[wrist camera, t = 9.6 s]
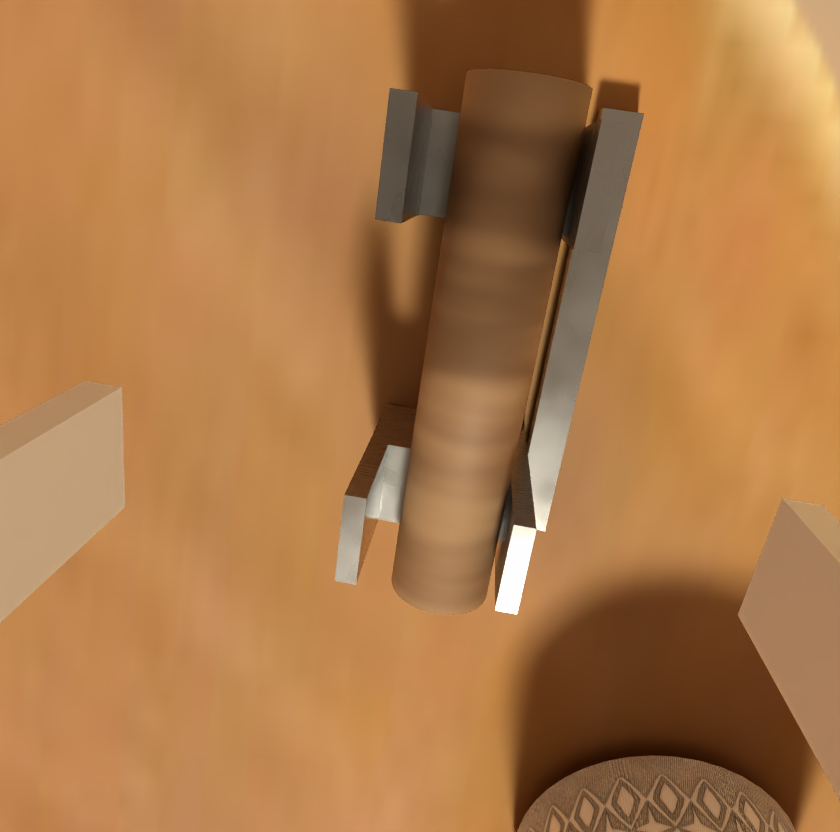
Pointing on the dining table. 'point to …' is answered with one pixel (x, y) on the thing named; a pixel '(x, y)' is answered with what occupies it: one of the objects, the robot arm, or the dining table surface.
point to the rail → (485, 328)
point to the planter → (655, 800)
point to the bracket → (572, 328)
